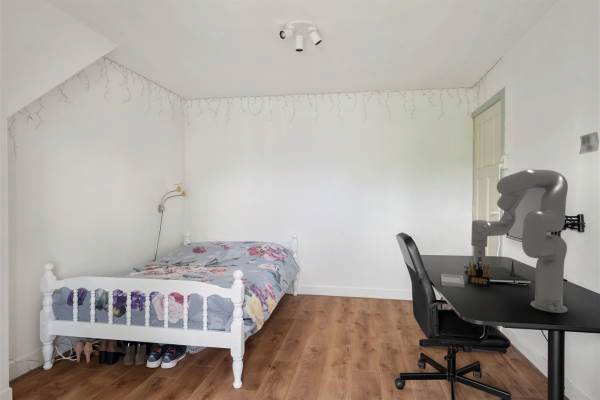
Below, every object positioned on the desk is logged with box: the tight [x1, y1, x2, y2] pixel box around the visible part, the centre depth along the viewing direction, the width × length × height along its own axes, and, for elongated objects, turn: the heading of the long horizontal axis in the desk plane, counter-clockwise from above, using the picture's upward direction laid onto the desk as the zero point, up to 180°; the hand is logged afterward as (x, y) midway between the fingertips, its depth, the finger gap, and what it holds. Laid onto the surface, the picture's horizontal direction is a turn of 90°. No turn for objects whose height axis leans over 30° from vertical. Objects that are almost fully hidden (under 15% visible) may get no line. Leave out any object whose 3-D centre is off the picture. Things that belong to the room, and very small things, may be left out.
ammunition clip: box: [467, 261, 491, 288], centre depth 176 cm, size 11×2×12 cm, turn 61°
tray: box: [440, 273, 465, 289], centre depth 181 cm, size 18×11×2 cm, turn 157°
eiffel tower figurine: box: [507, 260, 528, 286], centre depth 183 cm, size 15×10×13 cm
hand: (478, 274), depth 177 cm, fingers open, 9 cm apart
